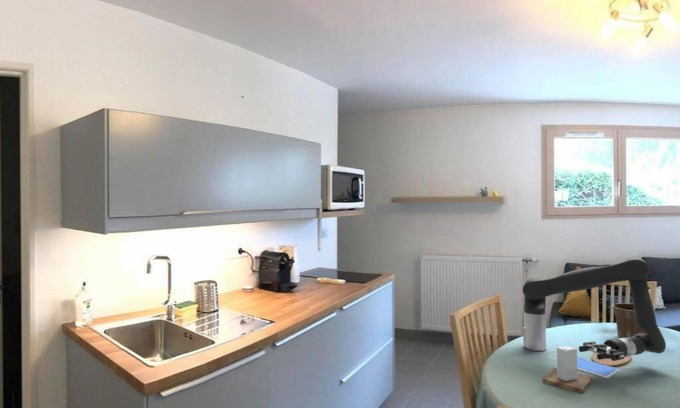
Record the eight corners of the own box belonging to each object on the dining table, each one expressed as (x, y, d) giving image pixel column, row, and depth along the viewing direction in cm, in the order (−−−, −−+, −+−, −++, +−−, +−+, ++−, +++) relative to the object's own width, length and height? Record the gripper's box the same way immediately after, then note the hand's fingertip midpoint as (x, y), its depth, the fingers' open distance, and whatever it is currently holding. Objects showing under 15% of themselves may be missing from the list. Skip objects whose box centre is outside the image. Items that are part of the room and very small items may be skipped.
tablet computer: (557, 364, 178) (557, 361, 178) (572, 357, 185) (572, 355, 185) (606, 380, 162) (606, 376, 162) (620, 371, 169) (620, 368, 169)
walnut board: (542, 382, 160) (542, 378, 160) (553, 371, 170) (553, 367, 170) (583, 393, 150) (582, 389, 150) (592, 380, 160) (592, 377, 160)
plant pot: (613, 331, 217) (612, 301, 217) (651, 336, 208) (650, 305, 208) (612, 340, 204) (611, 308, 204) (652, 346, 195) (652, 312, 195)
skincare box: (569, 375, 163) (568, 344, 163) (578, 379, 158) (577, 348, 158) (556, 377, 161) (555, 346, 161) (565, 381, 157) (564, 350, 157)
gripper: (604, 333, 174) (573, 338, 170) (636, 344, 160) (604, 349, 156) (604, 351, 174) (574, 355, 170) (636, 363, 160) (604, 369, 156)
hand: (588, 352), depth 163 cm, fingers open, 8 cm apart
